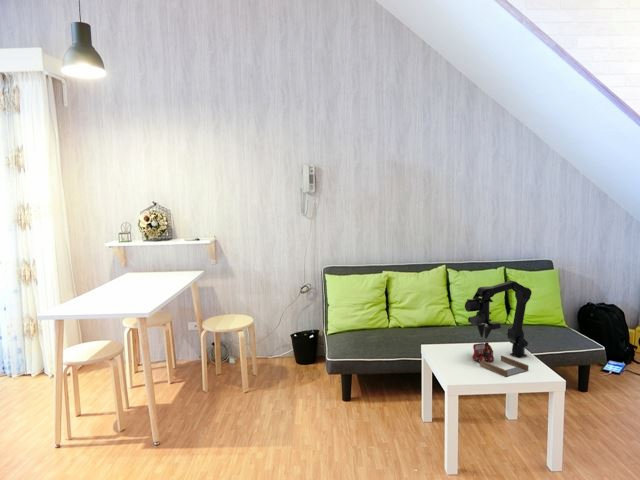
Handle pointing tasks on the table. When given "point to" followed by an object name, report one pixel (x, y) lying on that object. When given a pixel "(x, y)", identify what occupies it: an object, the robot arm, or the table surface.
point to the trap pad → (514, 371)
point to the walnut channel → (500, 370)
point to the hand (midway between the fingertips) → (483, 337)
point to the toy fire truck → (483, 352)
